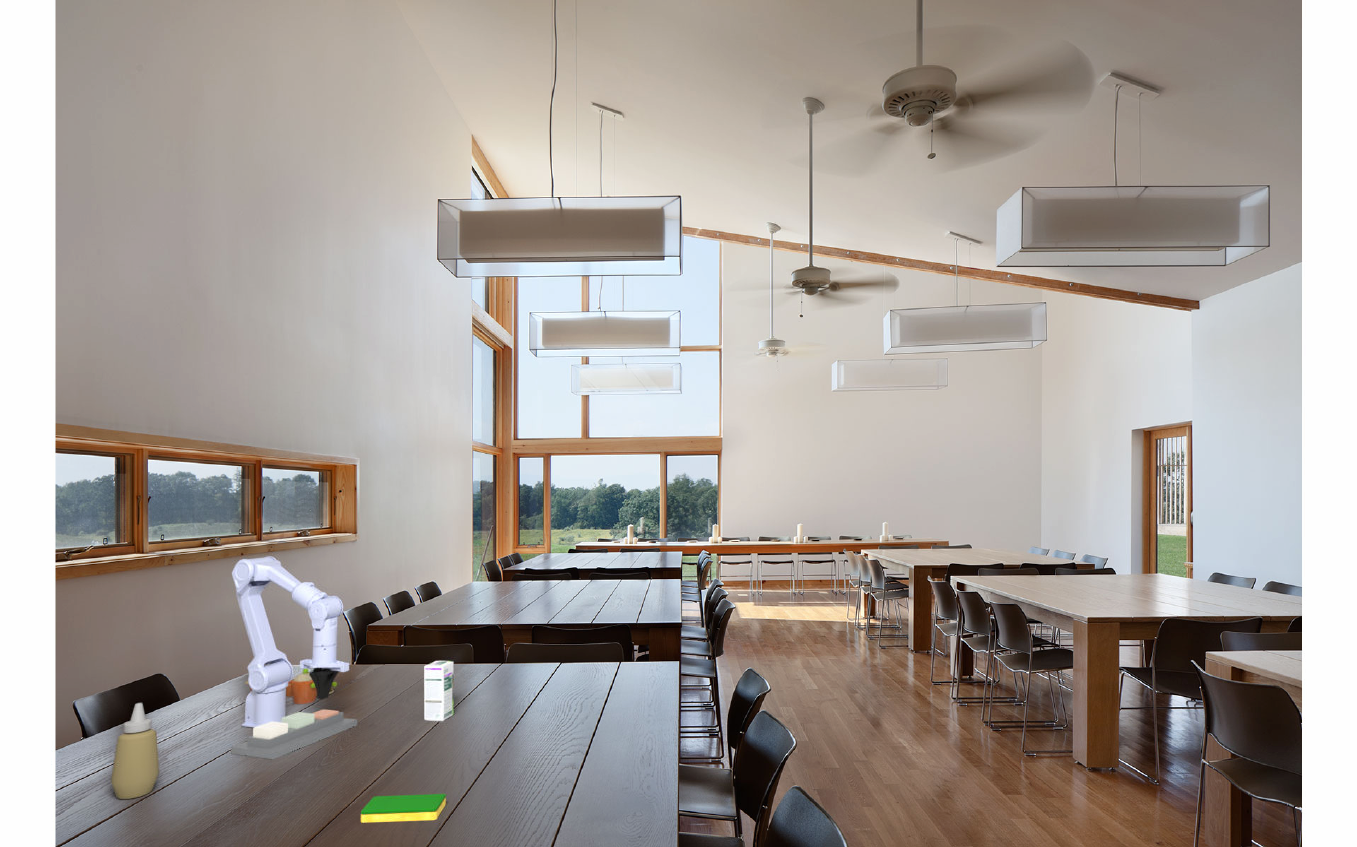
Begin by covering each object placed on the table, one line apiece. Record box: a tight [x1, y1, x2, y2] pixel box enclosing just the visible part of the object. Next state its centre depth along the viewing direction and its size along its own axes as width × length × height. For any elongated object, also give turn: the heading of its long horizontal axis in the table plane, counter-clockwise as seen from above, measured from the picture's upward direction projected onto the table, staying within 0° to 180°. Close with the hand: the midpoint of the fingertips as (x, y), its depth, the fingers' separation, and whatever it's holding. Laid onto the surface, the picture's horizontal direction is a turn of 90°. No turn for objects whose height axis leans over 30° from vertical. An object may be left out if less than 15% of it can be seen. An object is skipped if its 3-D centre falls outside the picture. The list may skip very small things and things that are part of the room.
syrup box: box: [423, 660, 455, 722], centre depth 202 cm, size 6×6×14 cm
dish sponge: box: [360, 793, 447, 823], centre depth 142 cm, size 7×14×2 cm, turn 93°
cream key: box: [252, 721, 288, 739], centre depth 179 cm, size 5×5×2 cm
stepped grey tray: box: [230, 711, 358, 760], centre depth 186 cm, size 13×26×4 cm, turn 160°
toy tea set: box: [244, 668, 338, 705], centre depth 224 cm, size 26×16×10 cm, turn 93°
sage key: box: [281, 711, 315, 729], centre depth 187 cm, size 5×5×2 cm
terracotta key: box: [311, 709, 340, 719], centre depth 194 cm, size 5×5×2 cm
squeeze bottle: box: [110, 702, 160, 800], centre depth 154 cm, size 8×8×18 cm
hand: (323, 698), depth 194 cm, fingers closed
